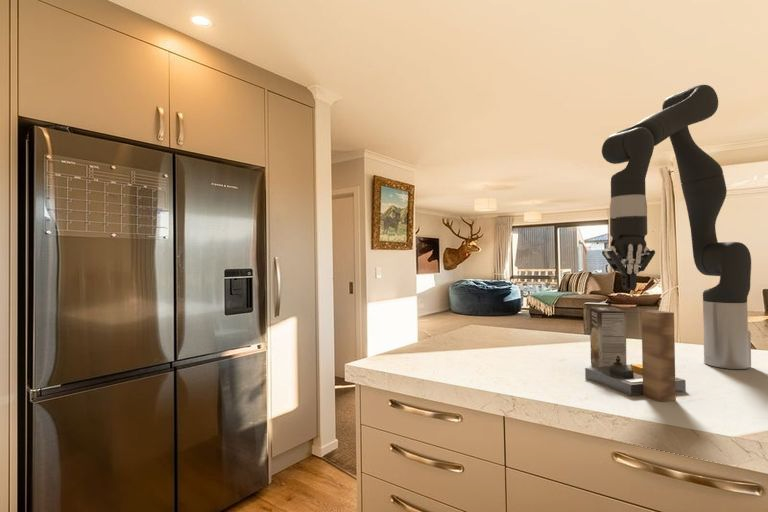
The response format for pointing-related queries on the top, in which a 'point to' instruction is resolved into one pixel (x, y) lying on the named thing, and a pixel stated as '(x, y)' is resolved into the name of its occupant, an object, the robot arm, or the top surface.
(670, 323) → the walnut post
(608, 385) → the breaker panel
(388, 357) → the top surface
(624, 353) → the coffee box
